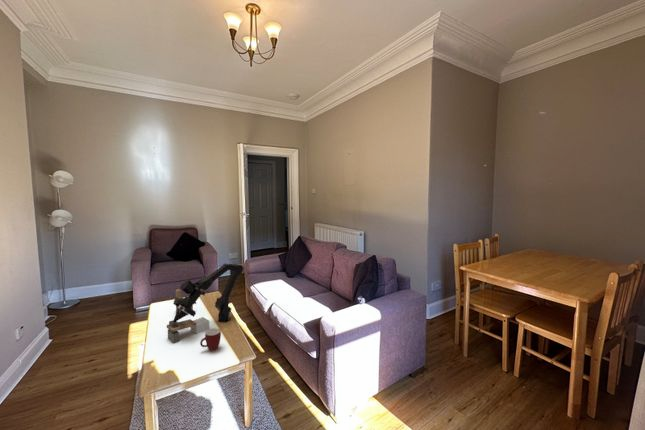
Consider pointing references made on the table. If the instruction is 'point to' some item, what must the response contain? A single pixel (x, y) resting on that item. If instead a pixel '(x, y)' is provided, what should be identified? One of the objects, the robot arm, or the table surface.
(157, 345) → the table surface
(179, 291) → the wooden block
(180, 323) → the plank
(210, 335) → the mug
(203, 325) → the gray rectangular block
